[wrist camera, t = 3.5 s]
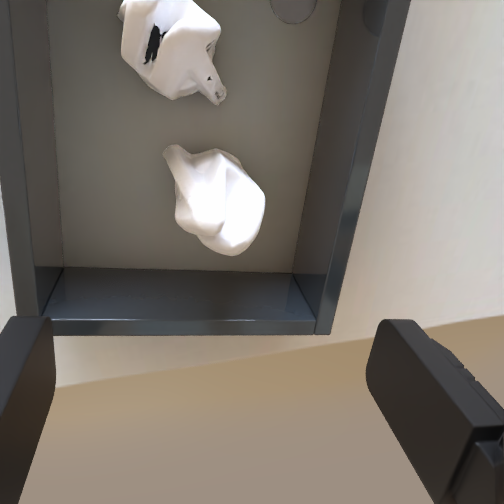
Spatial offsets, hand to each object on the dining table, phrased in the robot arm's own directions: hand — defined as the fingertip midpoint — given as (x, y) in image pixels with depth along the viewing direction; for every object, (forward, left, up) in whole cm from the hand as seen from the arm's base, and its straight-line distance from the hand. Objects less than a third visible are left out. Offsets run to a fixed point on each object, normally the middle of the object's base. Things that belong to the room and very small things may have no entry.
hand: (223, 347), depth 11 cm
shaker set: (0, +3, -16) cm, 16 cm away
